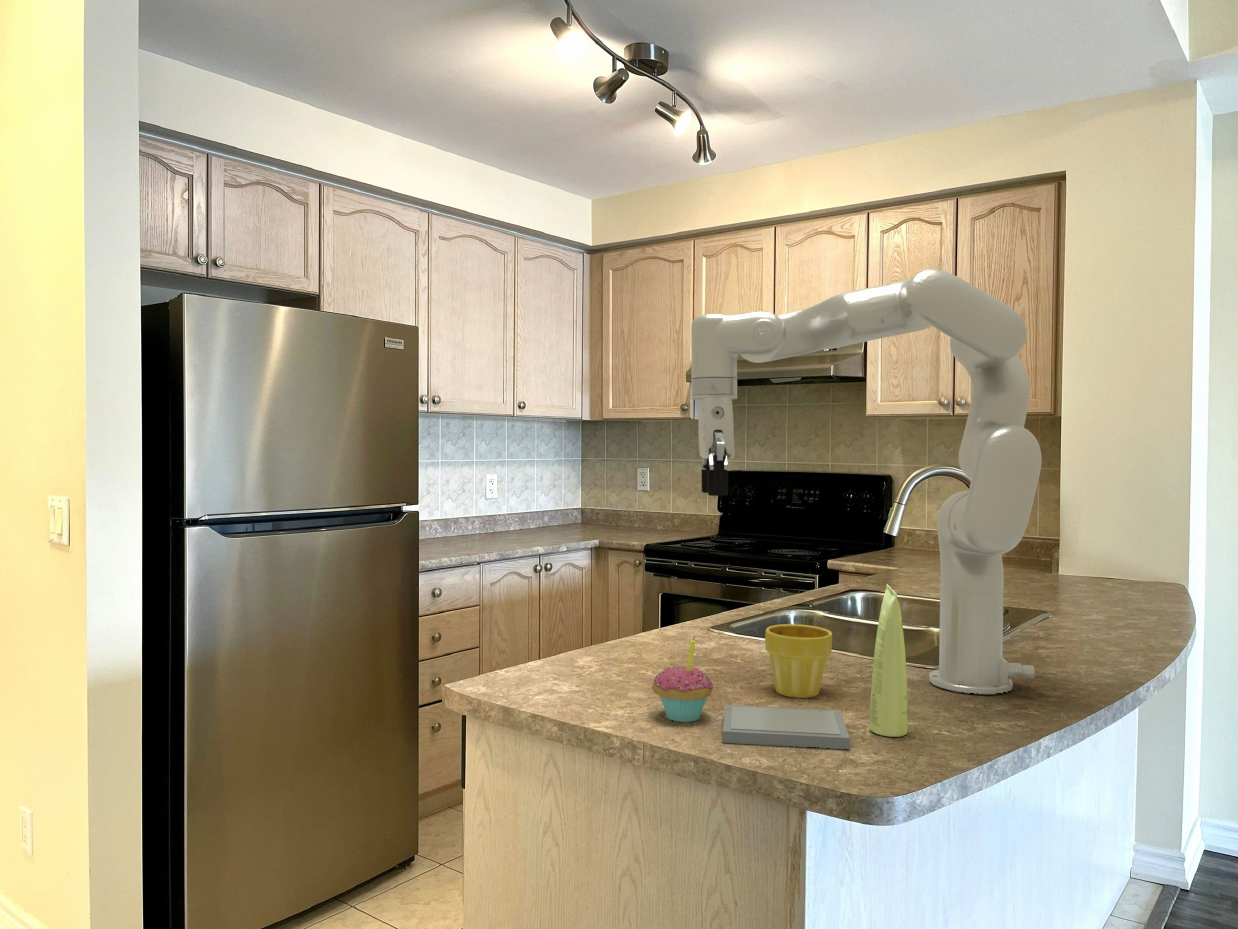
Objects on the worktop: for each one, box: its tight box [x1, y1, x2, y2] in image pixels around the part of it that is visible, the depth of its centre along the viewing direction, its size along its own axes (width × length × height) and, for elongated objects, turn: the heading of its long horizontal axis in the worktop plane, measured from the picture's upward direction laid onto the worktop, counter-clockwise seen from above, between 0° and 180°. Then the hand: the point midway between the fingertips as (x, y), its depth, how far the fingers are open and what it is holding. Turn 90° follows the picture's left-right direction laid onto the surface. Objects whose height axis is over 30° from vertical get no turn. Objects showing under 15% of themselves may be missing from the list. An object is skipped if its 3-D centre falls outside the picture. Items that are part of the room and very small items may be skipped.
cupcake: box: [651, 635, 714, 723], centre depth 124 cm, size 9×8×12 cm
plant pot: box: [764, 623, 833, 699], centre depth 137 cm, size 10×10×10 cm
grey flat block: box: [722, 704, 851, 750], centre depth 118 cm, size 16×12×2 cm
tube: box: [869, 583, 908, 738], centre depth 118 cm, size 6×5×20 cm
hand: (714, 494), depth 144 cm, fingers open, 9 cm apart
